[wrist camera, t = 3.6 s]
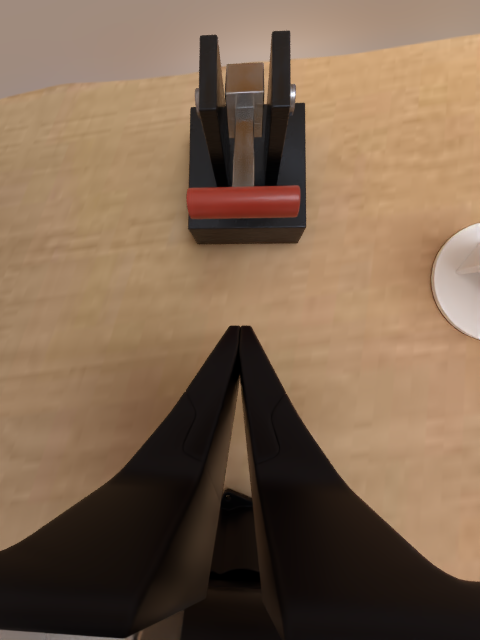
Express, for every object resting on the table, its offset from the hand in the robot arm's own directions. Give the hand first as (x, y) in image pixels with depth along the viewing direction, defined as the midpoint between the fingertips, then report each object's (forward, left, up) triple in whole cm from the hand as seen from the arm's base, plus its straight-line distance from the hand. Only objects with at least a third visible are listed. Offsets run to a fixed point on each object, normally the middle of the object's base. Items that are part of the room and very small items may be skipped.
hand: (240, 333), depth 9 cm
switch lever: (+4, -10, -5) cm, 11 cm away
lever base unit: (+5, -13, -13) cm, 20 cm away
